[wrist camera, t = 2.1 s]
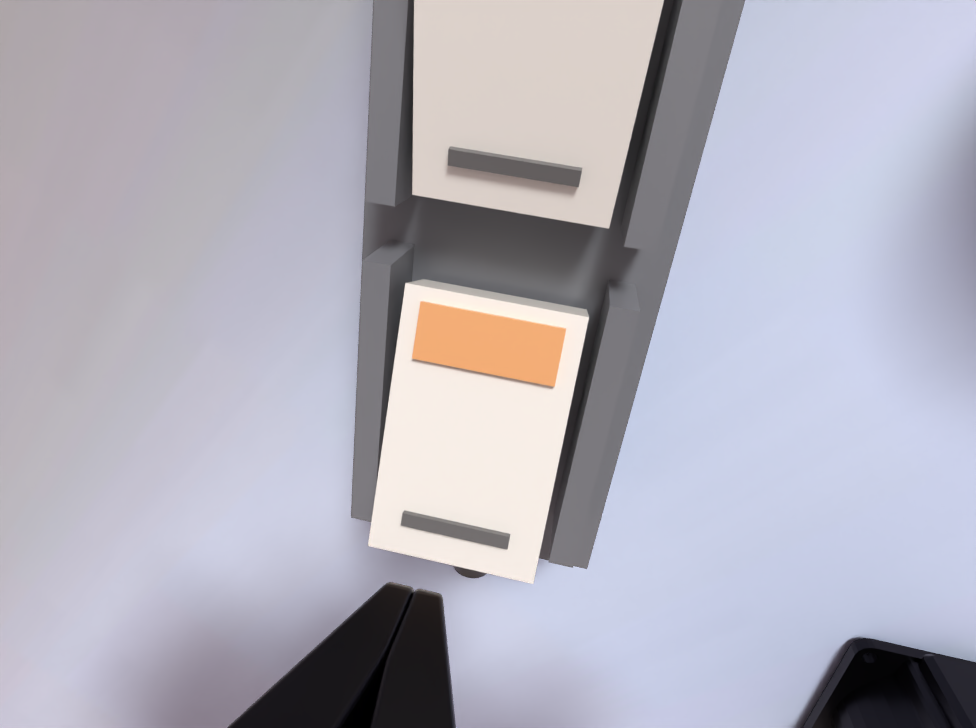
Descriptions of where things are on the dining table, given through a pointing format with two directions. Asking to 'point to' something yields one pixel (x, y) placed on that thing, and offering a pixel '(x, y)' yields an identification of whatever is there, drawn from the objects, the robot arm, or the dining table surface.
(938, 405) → the dining table surface
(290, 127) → the dining table surface
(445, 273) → the rocker switch panel
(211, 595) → the dining table surface
